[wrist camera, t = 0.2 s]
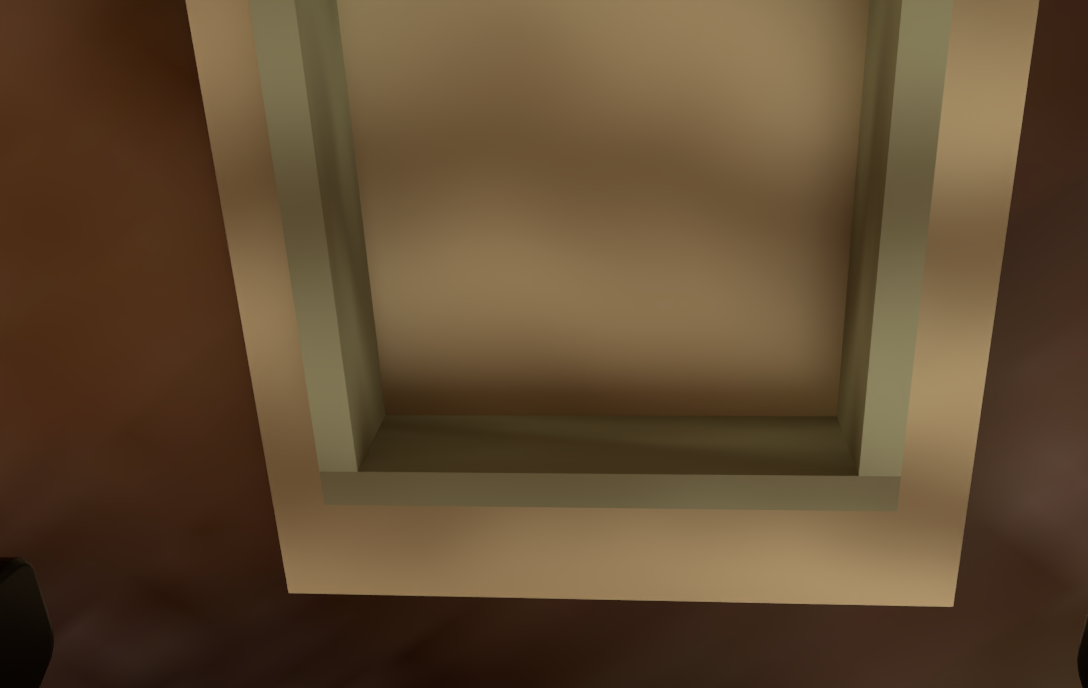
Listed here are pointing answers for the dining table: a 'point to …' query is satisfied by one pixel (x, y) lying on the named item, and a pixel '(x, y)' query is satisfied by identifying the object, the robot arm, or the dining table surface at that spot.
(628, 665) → the dining table surface
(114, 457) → the dining table surface
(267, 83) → the holder board
